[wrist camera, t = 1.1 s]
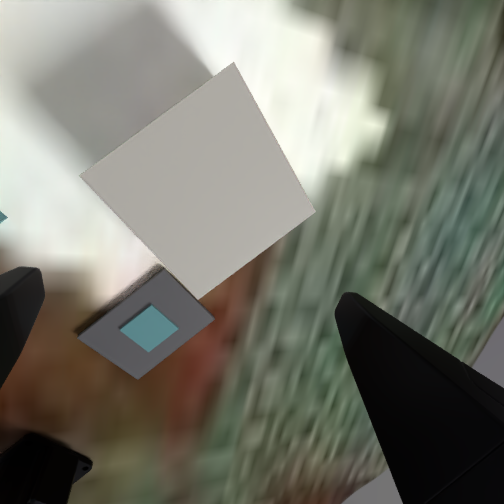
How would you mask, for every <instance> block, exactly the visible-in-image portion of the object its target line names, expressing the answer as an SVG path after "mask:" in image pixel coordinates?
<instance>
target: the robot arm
mask: <svg viewBox="0 0 504 504" xmlns="http://www.w3.org/2000/svg"><path fill="white" fill-rule="evenodd" d="M44 298H45V290H44V285H43V279H42V273H41V271H40V269H38V268H36V267H24V266H21V267H17V268H15V269H13V270H10V271H8V272H6V273H3V274H1V275H0V389H1V387H2V385H3V384H4V382H5V380H6V378H7V377H8V375H9V373H10V371H11V370H12V368H13V366H14V365H15V363H16V361H17V359H18V357H19V356H20V354H21V352H22V350H23V347H24V345H25V343H26V341H27V338H28V336H29V334H30V331H31V329H32V327H33V325H34V322H35V320H36V318H37V315H38V313H39V311H40V308H41V306H42V304H43V301H44ZM335 319H336V323H337V327H338V330H339V334H340V337H341V341H342V345H343V348H344V352H345V355H346V358H347V361H348V364H349V366H350V369H351V371H352V374H353V376H354V379H355V382H356V384H357V387H358V389H359V392H360V394H361V397H362V400H363V402H364V405H365V407H366V410H367V412H368V415H369V418H370V420H371V423H372V425H373V428H374V430H375V433H376V436H377V438H378V441H379V443H380V446H381V448H382V451H383V454H384V456H385V459H386V461H387V464H388V466H389V469H390V471H391V474H392V477H393V479H394V482H395V484H396V487H397V490H398V492H399V495H400V497H401V500H402V502H403V504H504V388H503V387H501V386H500V385H498V384H496V383H495V382H493V381H491V380H490V379H488V378H487V377H485V376H484V375H482V374H480V373H479V372H477V371H476V370H474V369H473V368H471V367H470V366H468V365H467V364H465V363H464V362H460V360H459V359H457V358H456V357H454V356H453V355H451V354H450V353H448V352H447V351H445V350H443V349H442V348H440V347H439V346H437V345H436V344H434V343H433V342H431V341H430V340H428V339H427V338H425V337H424V336H422V335H421V334H419V333H417V332H416V331H414V330H413V329H411V328H410V327H408V326H407V325H405V324H404V323H402V322H401V321H399V320H398V319H396V318H394V317H393V316H391V315H390V314H388V313H387V312H385V311H384V310H382V309H381V308H379V307H378V306H376V305H375V304H373V303H371V302H370V301H368V300H367V299H365V298H364V297H362V296H361V295H359V294H358V293H354V292H345V293H344V294H343V295H342V297H341V299H340V301H339V303H338V305H337V307H336V309H335ZM92 465H93V462H92V461H91V460H89V459H87V458H85V457H83V456H80V455H78V454H76V453H74V452H72V451H70V450H67V449H65V448H63V447H61V446H59V445H57V444H54V443H52V442H50V441H48V440H46V439H44V438H41V437H39V436H37V435H35V434H28V435H25V436H24V437H23V438H21V439H20V440H19V441H18V442H16V443H15V444H14V445H12V446H11V447H10V448H9V449H7V450H6V451H5V452H3V453H2V454H1V455H0V504H67V503H68V499H69V496H70V492H71V488H72V484H74V483H75V482H76V481H77V480H79V479H80V478H81V477H83V476H84V475H85V474H86V473H88V472H89V471H90V470H91V469H92Z"/></svg>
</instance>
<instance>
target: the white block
mask: <svg viewBox="0 0 504 504" xmlns="http://www.w3.org/2000/svg"><path fill="white" fill-rule="evenodd" d="M79 176H80V177H81V178H82V179H83V180H84V181H85V182H86V184H87V185H88V186H89V187H90V188H91V189H92V190H93V191H94V192H95V193H96V194H97V195H98V196H99V197H100V198H101V199H102V200H103V201H104V202H105V203H106V204H107V205H108V207H109V208H110V209H111V210H112V211H113V212H114V213H115V214H116V215H117V216H118V217H119V218H120V219H121V220H122V221H123V222H124V223H125V224H126V225H127V226H128V227H129V228H130V230H131V231H132V232H133V233H134V234H135V235H136V236H137V237H138V238H139V239H140V240H141V241H142V242H143V243H144V244H145V245H146V246H147V247H148V248H149V249H150V250H151V251H152V253H153V254H154V255H155V256H156V257H157V258H158V259H159V260H160V261H161V262H162V263H163V264H164V265H165V266H166V267H167V268H168V269H169V270H170V271H171V272H172V273H173V274H174V275H175V277H176V278H177V279H178V280H179V281H180V282H181V283H182V284H183V285H184V286H185V287H186V288H187V289H188V290H189V291H190V292H191V293H192V294H193V295H194V296H195V297H196V298H197V300H198V299H200V298H201V297H202V296H204V295H205V294H206V293H208V292H209V291H210V290H212V289H213V288H214V287H216V286H217V285H219V284H220V283H221V282H223V281H224V280H225V279H227V278H228V277H229V276H231V275H232V274H233V273H235V272H236V271H237V270H239V269H240V268H241V267H243V266H244V265H245V264H247V263H248V262H249V261H251V260H252V259H253V258H255V257H256V256H257V255H259V254H260V253H261V252H263V251H264V250H265V249H267V248H268V247H269V246H271V245H272V244H273V243H275V242H276V241H277V240H279V239H280V238H281V237H283V236H284V235H285V234H287V233H288V232H289V231H291V230H292V229H293V228H295V227H296V226H297V225H299V224H300V223H301V222H303V221H304V220H305V219H307V218H308V217H309V216H311V215H312V214H313V213H315V212H316V211H315V209H314V208H313V206H312V204H311V202H310V200H309V198H308V197H307V195H306V193H305V191H304V189H303V187H302V186H301V184H300V182H299V180H298V178H297V176H296V175H295V173H294V171H293V169H292V167H291V165H290V164H289V162H288V160H287V158H286V156H285V155H284V153H283V151H282V149H281V147H280V145H279V144H278V142H277V140H276V138H275V136H274V134H273V133H272V131H271V129H270V127H269V125H268V123H267V122H266V120H265V118H264V116H263V114H262V112H261V111H260V109H259V107H258V105H257V103H256V102H255V100H254V98H253V96H252V94H251V92H250V91H249V89H248V87H247V85H246V83H245V81H244V80H243V78H242V76H241V74H240V72H239V70H238V69H237V67H236V65H235V63H234V62H233V63H232V64H230V65H229V66H228V67H226V68H225V69H223V70H222V71H221V72H219V73H218V74H217V75H215V76H214V77H213V78H211V79H210V80H208V81H207V82H206V83H204V84H203V85H202V86H200V87H199V88H198V89H196V90H195V91H194V92H192V93H191V94H189V95H188V96H187V97H185V98H184V99H183V100H181V101H180V102H179V103H177V104H176V105H174V106H173V107H172V108H170V109H169V110H168V111H166V112H165V113H164V114H162V115H161V116H160V117H158V118H157V119H155V120H154V121H153V122H151V123H150V124H149V125H147V126H146V127H145V128H143V129H142V130H140V131H139V132H138V133H136V134H135V135H134V136H132V137H131V138H130V139H128V140H127V141H125V142H124V143H123V144H121V145H120V146H119V147H117V148H116V149H115V150H113V151H112V152H111V153H109V154H108V155H106V156H105V157H104V158H102V159H101V160H100V161H98V162H97V163H96V164H94V165H93V166H91V167H90V168H89V169H87V170H86V171H85V172H83V173H82V174H81V175H79Z"/></svg>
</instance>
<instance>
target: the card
mask: <svg viewBox="0 0 504 504" xmlns="http://www.w3.org/2000/svg"><path fill="white" fill-rule="evenodd" d="M214 319H215V318H214V316H213V315H212V314H211V313H210V312H209V311H208V310H207V309H206V308H205V307H204V306H203V305H202V304H201V303H200V302H199V301H198V300H197V299H196V298H195V297H194V296H193V295H192V294H191V293H190V292H189V291H188V290H187V289H186V288H185V287H184V286H182V285H181V284H180V283H179V282H178V281H177V280H176V279H175V278H174V277H173V276H172V275H171V274H170V273H169V272H168V271H167V270H166V269H165V268H163V269H162V270H160V271H159V272H158V273H157V274H155V275H154V276H153V277H151V278H150V279H149V280H148V281H146V282H145V283H144V284H143V285H141V286H140V287H139V288H137V289H136V290H135V291H134V292H132V293H131V294H130V295H128V296H127V297H126V298H125V299H123V300H122V301H121V302H120V303H118V304H117V305H116V306H114V307H113V308H112V309H111V310H109V311H108V312H107V313H106V314H104V315H103V316H102V317H100V318H99V319H98V320H97V321H95V322H94V323H93V324H91V325H90V326H89V327H88V328H86V329H85V330H84V331H83V332H81V333H80V334H79V335H78V337H77V338H78V339H79V340H81V341H82V342H83V343H85V344H86V345H88V346H89V347H91V348H92V349H94V350H95V351H97V352H98V353H100V354H101V355H103V356H104V357H105V358H107V359H108V360H110V361H111V362H113V363H114V364H116V365H117V366H119V367H120V368H122V369H123V370H124V371H126V372H127V373H129V374H130V375H132V376H133V377H135V378H136V379H139V378H141V377H142V376H143V375H144V374H146V373H147V372H148V371H149V370H151V369H152V368H153V367H155V366H156V365H157V364H158V363H160V362H161V361H162V360H163V359H165V358H166V357H167V356H169V355H170V354H171V353H172V352H174V351H175V350H176V349H177V348H179V347H180V346H181V345H183V344H184V343H185V342H186V341H188V340H189V339H190V338H192V337H193V336H194V335H195V334H197V333H198V332H199V331H200V330H202V329H203V328H204V327H206V326H207V325H208V324H209V323H211V322H212V321H213V320H214Z"/></svg>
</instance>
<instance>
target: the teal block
mask: <svg viewBox="0 0 504 504" xmlns="http://www.w3.org/2000/svg"><path fill="white" fill-rule="evenodd" d="M7 218H8V217H7V216H5V215H4V214H3V213H2V212H0V223H1V222H3V221H4V220H5V219H7Z"/></svg>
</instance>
